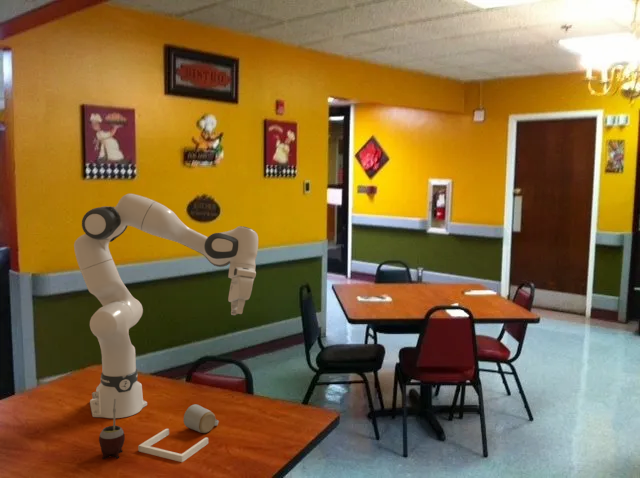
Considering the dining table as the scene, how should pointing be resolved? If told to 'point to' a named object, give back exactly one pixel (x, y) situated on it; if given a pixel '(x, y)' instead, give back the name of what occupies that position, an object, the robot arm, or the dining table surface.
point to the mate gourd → (112, 439)
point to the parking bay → (168, 454)
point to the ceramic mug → (199, 419)
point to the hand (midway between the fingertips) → (236, 314)
